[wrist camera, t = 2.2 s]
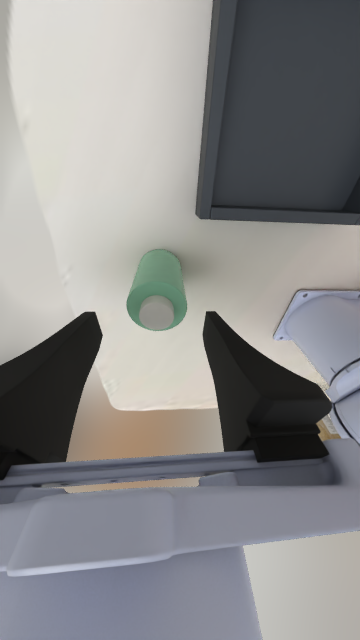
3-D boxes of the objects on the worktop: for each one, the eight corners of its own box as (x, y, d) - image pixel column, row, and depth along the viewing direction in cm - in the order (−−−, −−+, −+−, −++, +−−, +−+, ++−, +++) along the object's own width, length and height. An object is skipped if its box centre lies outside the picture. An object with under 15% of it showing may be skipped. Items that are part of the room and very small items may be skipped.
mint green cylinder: (182, 249, 17) (191, 289, 11) (180, 289, 20) (186, 339, 13) (136, 248, 17) (118, 288, 10) (141, 289, 19) (128, 340, 13)
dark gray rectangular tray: (479, -37, 9) (565, -98, 7) (339, 220, 16) (363, 225, 14) (219, -80, 8) (236, -165, 6) (195, 214, 15) (199, 219, 13)
